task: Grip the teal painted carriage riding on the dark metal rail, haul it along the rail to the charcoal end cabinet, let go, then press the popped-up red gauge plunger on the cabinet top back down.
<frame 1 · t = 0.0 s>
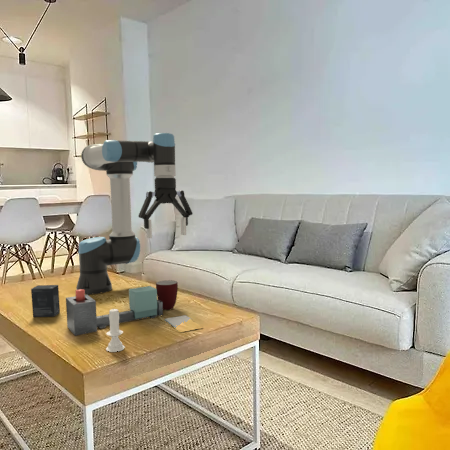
hand: (166, 236, 159), 28 cm above the table, fingers open, 13 cm apart
mug: (164, 309, 165), on the table
box: (46, 315, 160), on the table
end cabinet: (82, 329, 144), on the table
rail: (126, 320, 152), on the table
smartphone: (183, 326, 147), on the table
carriage: (143, 302, 155), point 5 cm above the table, slide at 0.0 cm
candle: (115, 349, 126), on the table
gauge plunger: (80, 295, 143), point 11 cm above the table, slide at 0.0 cm
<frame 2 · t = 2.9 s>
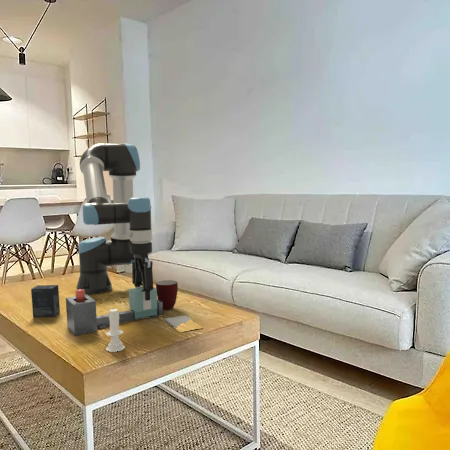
hand: (143, 306, 155), 4 cm above the table, fingers closed on carriage, 6 cm apart
carriage: (143, 302, 155), point 6 cm above the table, slide at 0.0 cm, touching gripper
everything else where it was.
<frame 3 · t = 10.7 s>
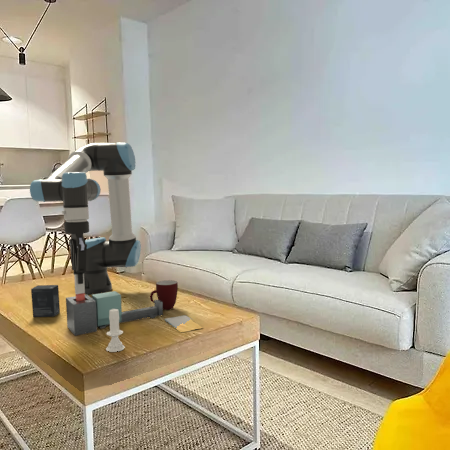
hand: (80, 293, 142), 12 cm above the table, fingers closed
carriage: (107, 308, 148), point 5 cm above the table, slide at 12.9 cm
gauge plunger: (80, 299, 143), point 10 cm above the table, slide at 1.1 cm, touching gripper
everything else where it was.
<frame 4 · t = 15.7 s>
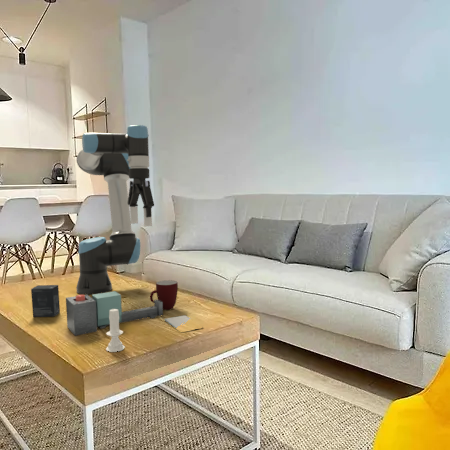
hand: (141, 224, 165), 32 cm above the table, fingers open, 13 cm apart
gauge plunger: (80, 301, 143), point 9 cm above the table, slide at 1.8 cm
everything else where it was.
at the end: carriage slide at 12.9 cm; gauge plunger slide at 1.8 cm; the gripper is holding nothing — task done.
